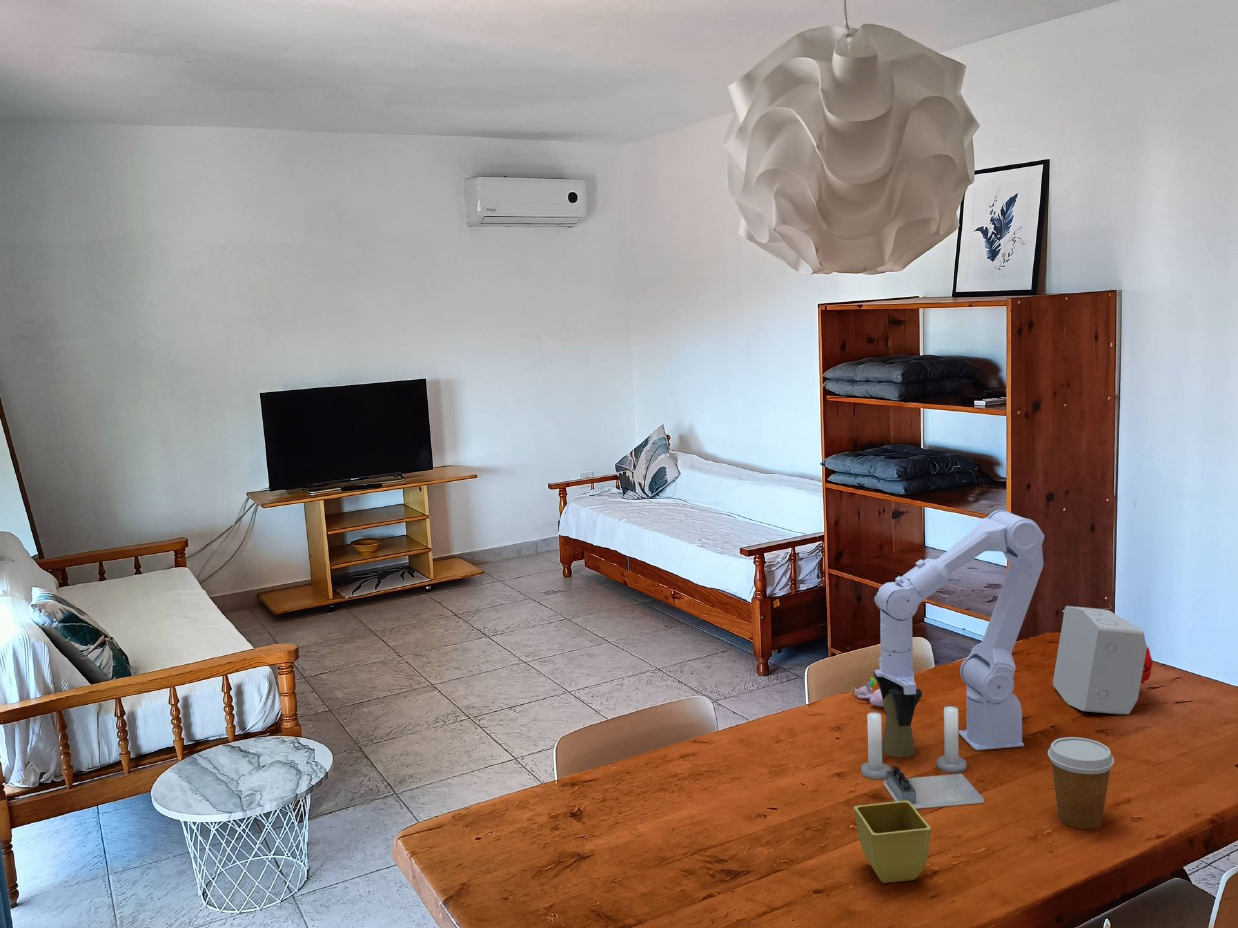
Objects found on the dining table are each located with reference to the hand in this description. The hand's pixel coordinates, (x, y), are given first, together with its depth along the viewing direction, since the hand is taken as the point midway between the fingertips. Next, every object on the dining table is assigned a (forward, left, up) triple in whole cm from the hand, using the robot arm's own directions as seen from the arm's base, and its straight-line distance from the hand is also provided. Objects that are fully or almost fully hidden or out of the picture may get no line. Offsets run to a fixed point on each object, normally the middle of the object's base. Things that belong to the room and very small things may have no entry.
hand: (897, 716), depth 182 cm
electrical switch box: (-49, -14, -7) cm, 51 cm away
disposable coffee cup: (-20, +29, -7) cm, 36 cm away
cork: (0, 0, -7) cm, 7 cm away
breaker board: (0, +17, -7) cm, 18 cm away
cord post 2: (-7, +8, -7) cm, 13 cm away
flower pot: (+14, +39, -7) cm, 42 cm away
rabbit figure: (-3, -22, -7) cm, 23 cm away
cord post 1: (+7, +8, -7) cm, 13 cm away
